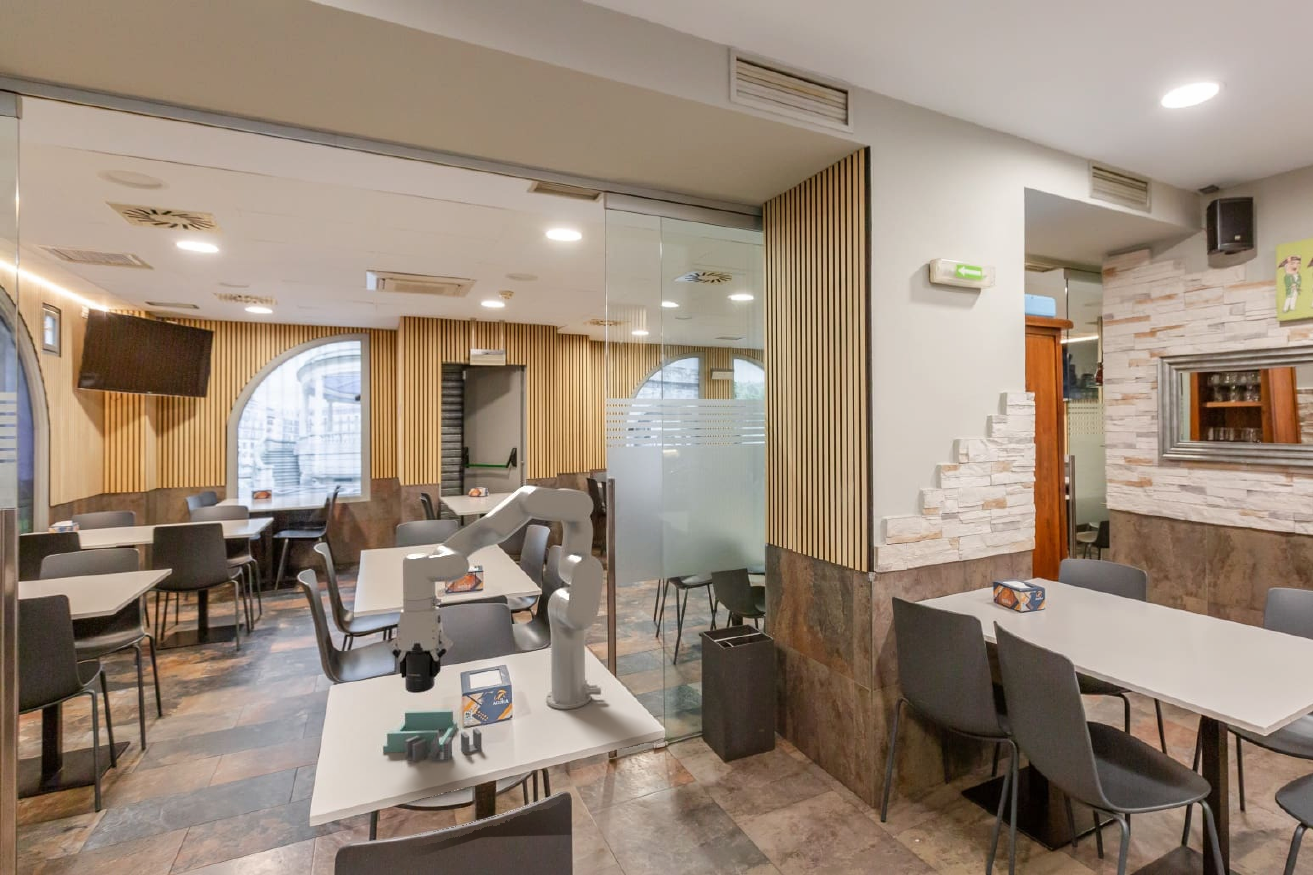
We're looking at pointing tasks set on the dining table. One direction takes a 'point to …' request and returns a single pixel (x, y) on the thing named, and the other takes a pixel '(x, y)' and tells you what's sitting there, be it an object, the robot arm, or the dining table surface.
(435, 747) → the clip
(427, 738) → the end holder
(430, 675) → the supplement bottle
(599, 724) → the dining table surface
